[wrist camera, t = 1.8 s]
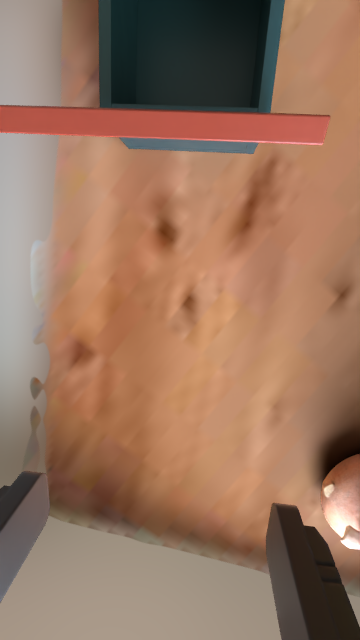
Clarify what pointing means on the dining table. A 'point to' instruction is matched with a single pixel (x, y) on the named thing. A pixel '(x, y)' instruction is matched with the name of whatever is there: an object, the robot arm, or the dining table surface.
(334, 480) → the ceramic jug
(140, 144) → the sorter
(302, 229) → the dining table surface
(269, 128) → the sorter lid
